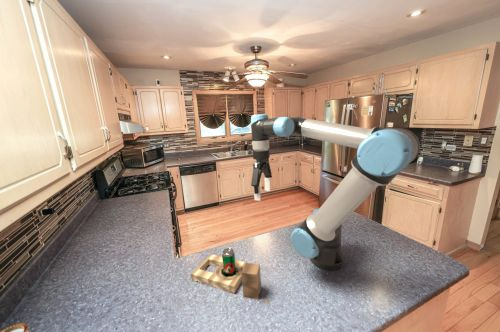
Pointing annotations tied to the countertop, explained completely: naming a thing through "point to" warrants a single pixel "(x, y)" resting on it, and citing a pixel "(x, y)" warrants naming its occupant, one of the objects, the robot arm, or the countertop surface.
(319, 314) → the countertop surface
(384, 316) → the countertop surface
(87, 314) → the countertop surface
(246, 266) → the walnut square peg
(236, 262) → the socket board
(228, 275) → the soda can
